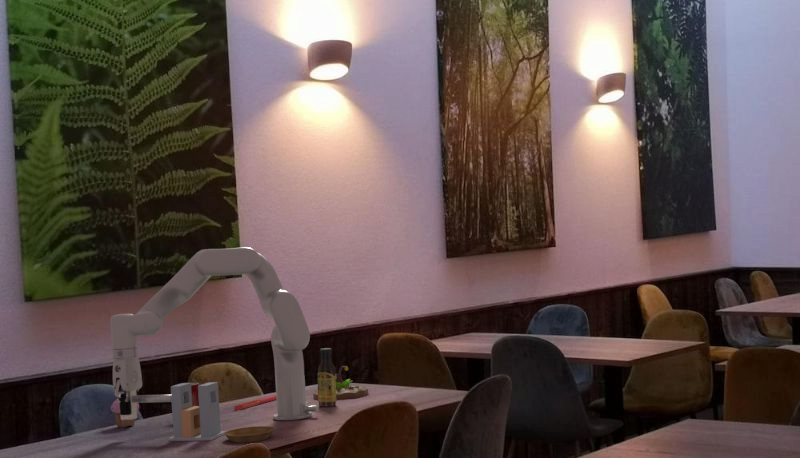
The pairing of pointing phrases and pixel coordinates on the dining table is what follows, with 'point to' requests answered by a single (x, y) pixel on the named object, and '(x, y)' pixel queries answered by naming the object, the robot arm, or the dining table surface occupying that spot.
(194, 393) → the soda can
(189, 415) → the orange square holed block
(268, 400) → the red long bar
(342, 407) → the dining table surface
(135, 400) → the shaft
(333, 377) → the sauce bottle
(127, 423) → the cupcake
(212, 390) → the bearing stand
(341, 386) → the plant
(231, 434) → the plant saucer
